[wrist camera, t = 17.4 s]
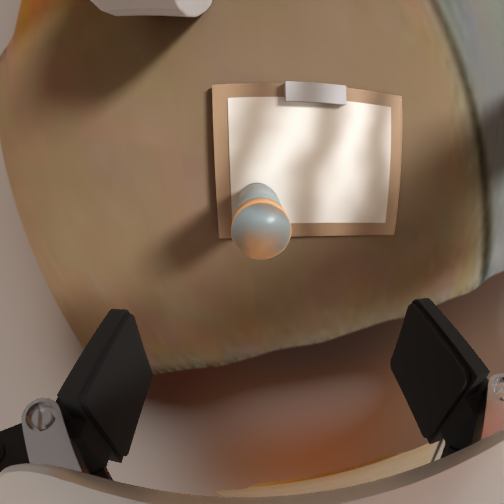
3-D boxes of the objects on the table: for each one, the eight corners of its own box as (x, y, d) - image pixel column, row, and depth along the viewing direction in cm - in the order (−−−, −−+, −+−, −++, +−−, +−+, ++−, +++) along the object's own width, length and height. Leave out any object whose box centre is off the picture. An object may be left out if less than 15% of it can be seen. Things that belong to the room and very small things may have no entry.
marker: (277, 179, 28) (292, 201, 19) (277, 219, 29) (290, 258, 20) (235, 180, 28) (229, 202, 19) (237, 220, 29) (232, 259, 20)
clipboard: (399, 97, 25) (406, 95, 23) (392, 233, 31) (398, 237, 29) (212, 86, 25) (210, 83, 23) (219, 236, 31) (218, 241, 29)
